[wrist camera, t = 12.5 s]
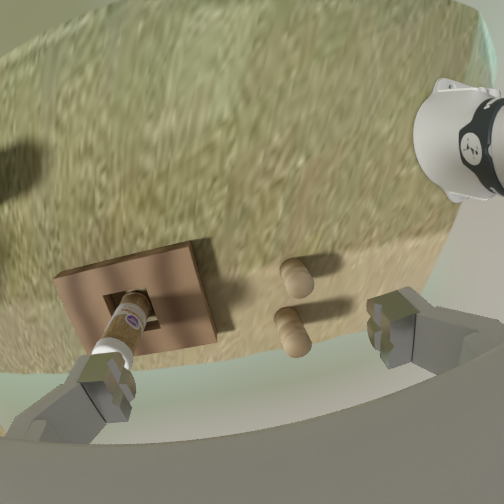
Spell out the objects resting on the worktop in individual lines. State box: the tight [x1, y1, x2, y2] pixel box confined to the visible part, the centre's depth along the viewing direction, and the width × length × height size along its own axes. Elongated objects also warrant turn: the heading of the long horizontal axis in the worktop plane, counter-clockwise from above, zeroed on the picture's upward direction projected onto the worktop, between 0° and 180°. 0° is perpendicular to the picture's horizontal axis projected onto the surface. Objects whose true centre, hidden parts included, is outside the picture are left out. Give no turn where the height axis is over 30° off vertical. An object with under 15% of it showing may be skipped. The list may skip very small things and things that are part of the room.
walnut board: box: [53, 241, 217, 356], centre depth 42 cm, size 20×14×2 cm
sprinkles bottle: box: [92, 292, 151, 371], centre depth 37 cm, size 5×5×14 cm
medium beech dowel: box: [274, 307, 312, 358], centre depth 42 cm, size 3×3×8 cm
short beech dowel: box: [280, 258, 314, 299], centre depth 41 cm, size 3×3×5 cm
